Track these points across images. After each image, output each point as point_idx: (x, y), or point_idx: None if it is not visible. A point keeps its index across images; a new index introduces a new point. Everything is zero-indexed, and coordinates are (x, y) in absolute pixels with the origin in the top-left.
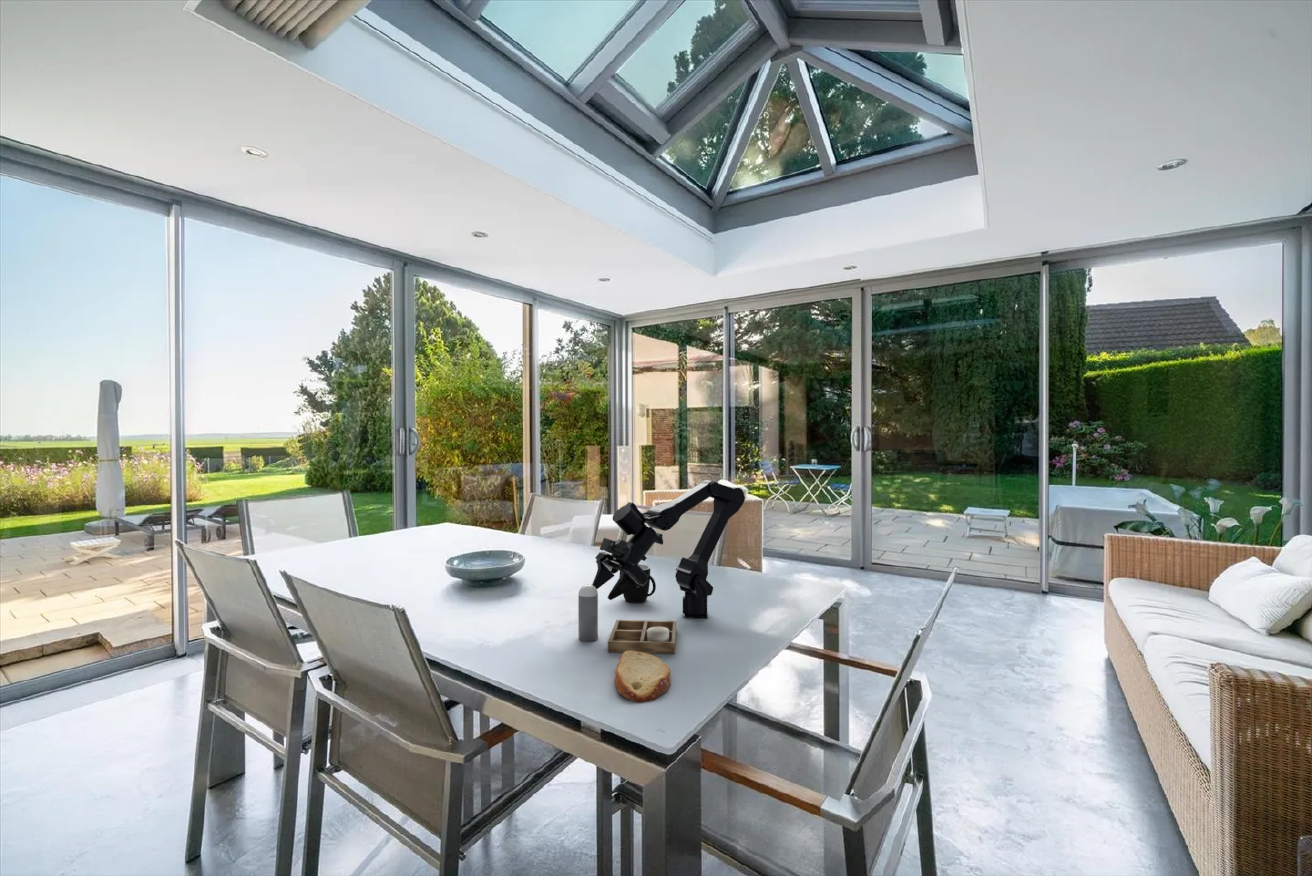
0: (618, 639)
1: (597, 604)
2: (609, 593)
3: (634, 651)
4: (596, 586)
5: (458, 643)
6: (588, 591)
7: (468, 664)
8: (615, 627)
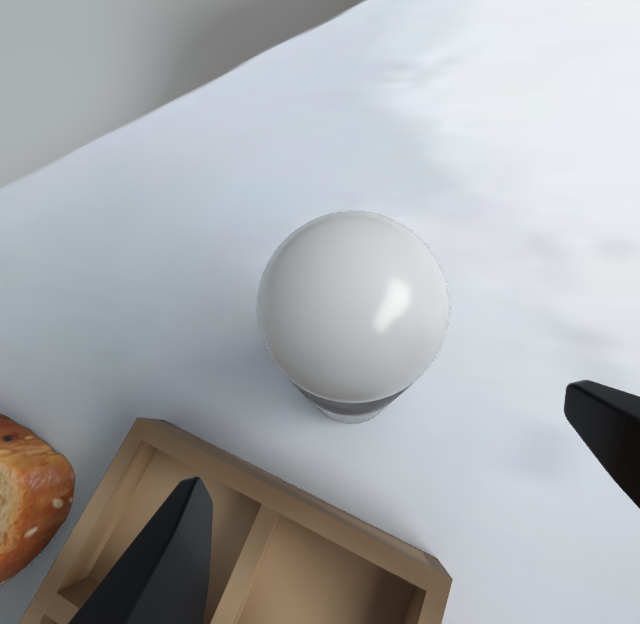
0: (251, 509)
1: (315, 401)
2: (183, 510)
3: (6, 518)
4: (618, 453)
5: (427, 22)
6: (263, 274)
7: (265, 51)
8: (314, 523)
